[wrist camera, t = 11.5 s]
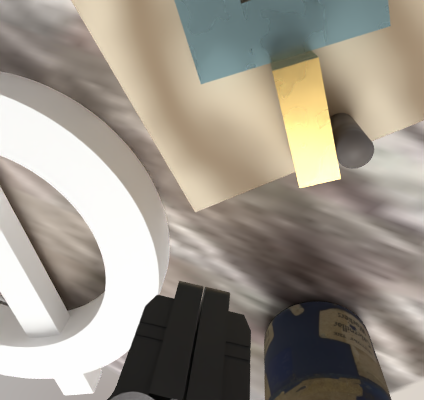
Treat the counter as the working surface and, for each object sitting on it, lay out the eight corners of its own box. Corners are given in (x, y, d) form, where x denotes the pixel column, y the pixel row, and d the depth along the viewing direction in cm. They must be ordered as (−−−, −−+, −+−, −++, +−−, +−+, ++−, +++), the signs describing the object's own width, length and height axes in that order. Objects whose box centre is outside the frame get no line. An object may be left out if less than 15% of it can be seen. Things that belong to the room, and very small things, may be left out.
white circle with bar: (98, 375, 44) (81, 416, 39) (-153, 259, 39) (-202, 291, 35) (231, 190, 31) (227, 220, 27) (-114, -14, 27) (-183, -15, 22)
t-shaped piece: (137, -129, 20) (112, -156, 17) (356, -229, 18) (382, -285, 14) (233, 177, 28) (230, 204, 24) (396, 137, 25) (419, 160, 22)
